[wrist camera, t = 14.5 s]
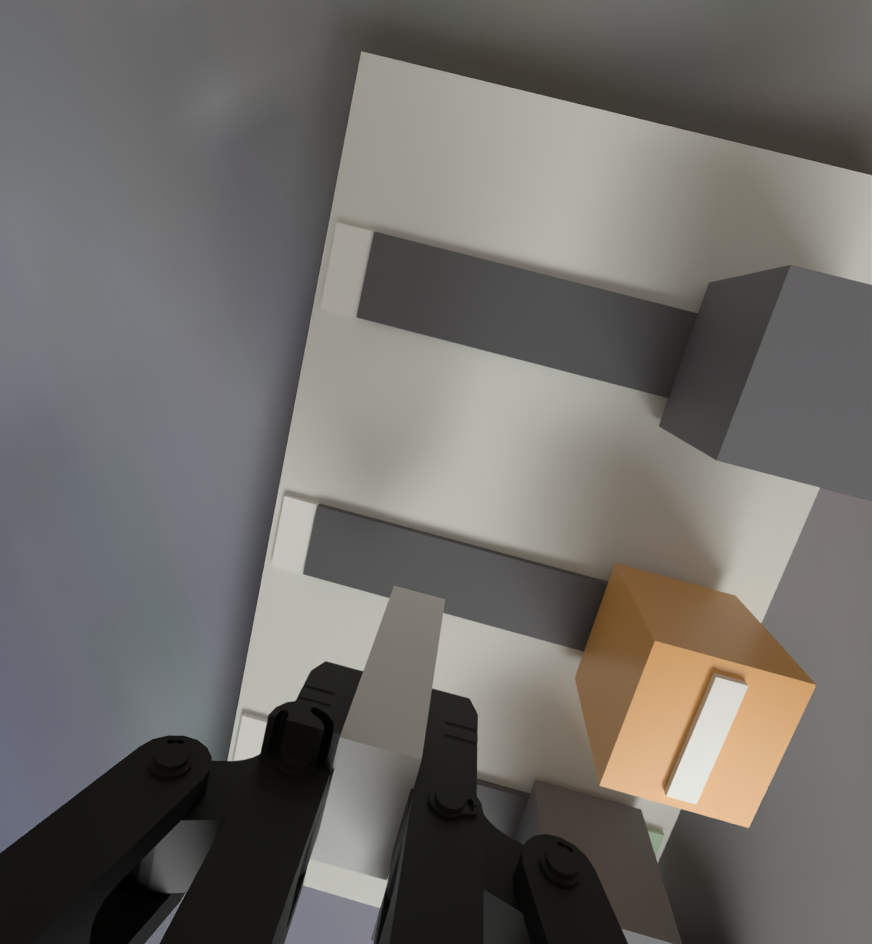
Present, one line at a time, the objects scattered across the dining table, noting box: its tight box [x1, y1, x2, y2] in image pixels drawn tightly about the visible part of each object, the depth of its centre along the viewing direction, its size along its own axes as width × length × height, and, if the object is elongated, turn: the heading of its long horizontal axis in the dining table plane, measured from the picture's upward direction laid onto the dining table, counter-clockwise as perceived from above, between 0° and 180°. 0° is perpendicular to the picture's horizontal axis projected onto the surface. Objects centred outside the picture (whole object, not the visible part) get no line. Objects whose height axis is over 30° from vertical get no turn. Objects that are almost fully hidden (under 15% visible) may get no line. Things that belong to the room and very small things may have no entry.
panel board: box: [227, 51, 872, 944], centre depth 19 cm, size 17×30×8 cm, turn 166°
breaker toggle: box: [575, 563, 816, 828], centre depth 17 cm, size 4×4×5 cm
